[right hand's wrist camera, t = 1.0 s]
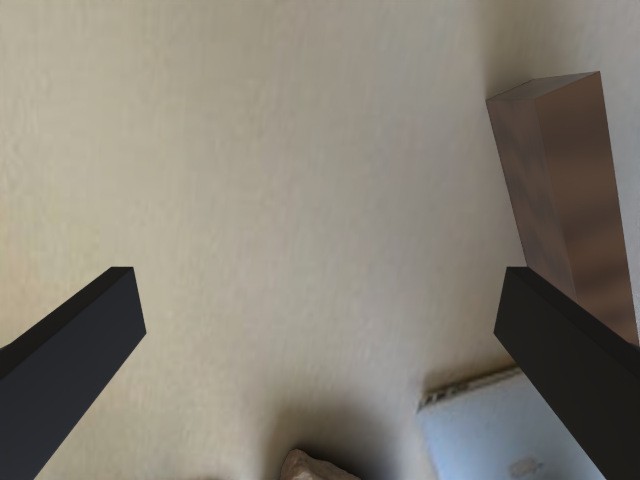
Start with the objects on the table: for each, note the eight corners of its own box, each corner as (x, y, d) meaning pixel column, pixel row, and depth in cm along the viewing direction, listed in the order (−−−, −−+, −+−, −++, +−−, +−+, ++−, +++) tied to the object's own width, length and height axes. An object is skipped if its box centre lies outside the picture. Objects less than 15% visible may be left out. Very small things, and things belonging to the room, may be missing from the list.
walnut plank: (485, 100, 32) (534, 98, 25) (534, 79, 32) (600, 70, 24) (548, 349, 42) (597, 401, 35) (587, 336, 42) (645, 387, 34)
